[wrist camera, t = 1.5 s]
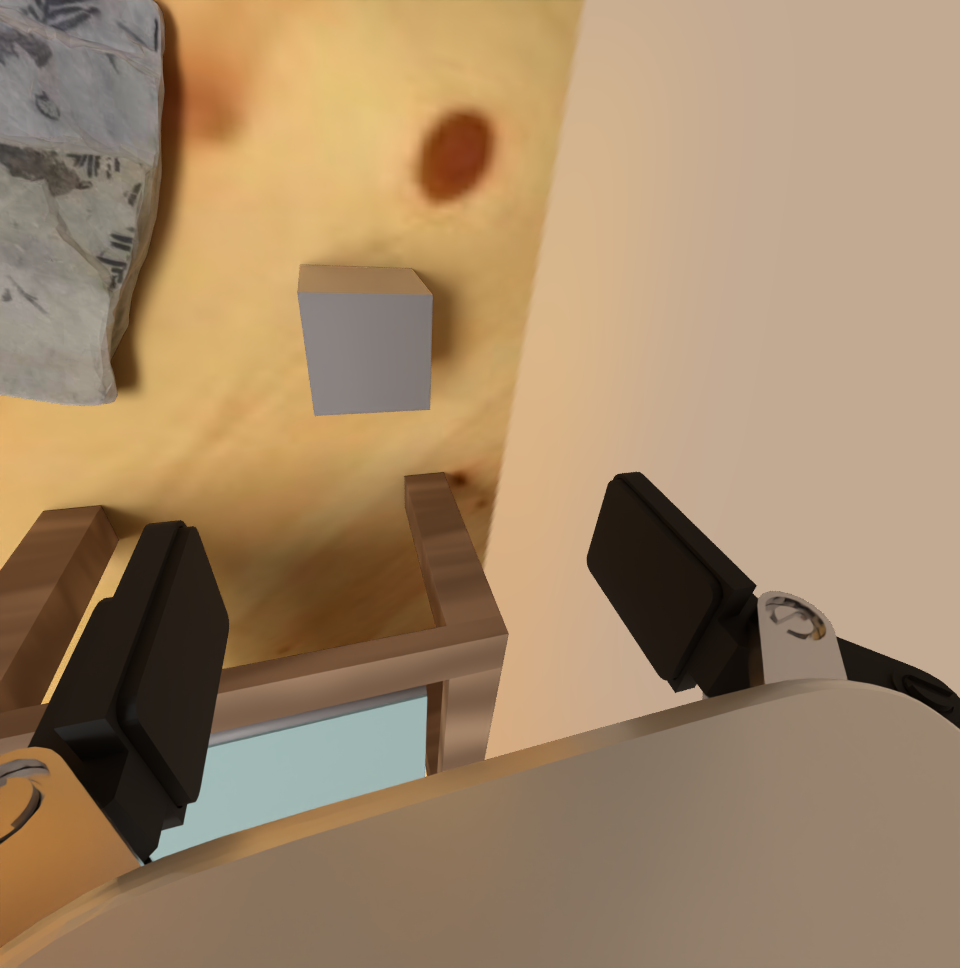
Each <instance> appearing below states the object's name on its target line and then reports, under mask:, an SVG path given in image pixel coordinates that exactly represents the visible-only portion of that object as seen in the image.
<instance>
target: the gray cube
mask: <svg viewBox="0 0 960 968" xmlns="http://www.w3.org/2000/svg"><path fill="white" fill-rule="evenodd" d="M298 300H299V307H300V314H301V321H302V328H303V336H304V343H305V350H306V357H307V365H308V372H309V379H310V386H311V393H312V401H313V408H314V415H315V416H321V415H340V414H358V413H377V412H396V411H414V410H430V389H431V347H432V305H433V294H432V293H431V292H430V291H429V289H428V288H427V287H426V286H425V284H424V283H423V282H422V281H421V279H420V278H419V277H418V276H417V274H416V273H415V272H414V271H413V269H412V268H386V267H356V266H326V265H300V271H299V282H298Z"/></svg>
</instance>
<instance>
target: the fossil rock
mask: <svg viewBox="0 0 960 968" xmlns="http://www.w3.org/2000/svg"><path fill="white" fill-rule="evenodd" d="M165 33H166V32H165V23H164V16H163V12H162V11H161V9H160V7H159V6H158V5H157V3H155V2H154V1H153V0H0V395H4V396H11V397H17V398H23V399H30V400H36V401H43V402H50V403H56V404H64V405H79V406H95V405H101V404H107V403H111V402H114V401H115V399H116V397H117V387H116V381H115V375H114V371H113V368H112V366H111V363H110V361H111V359H112V357H113V355H114V353H115V351H116V349H117V347H118V344H119V342H120V340H121V338H122V336H123V334H124V332H125V331H126V329H127V327H128V326H129V312H130V308H131V298H132V294H133V291H134V288H135V285H136V282H137V278H138V274H139V271H140V269H141V267H142V264H143V262H144V260H145V258H146V256H147V253H148V249H149V245H150V241H151V237H152V231H153V227H154V224H155V221H156V218H157V210H158V202H159V190H160V184H161V178H162V157H161V117H162V110H163V102H164V92H165V90H164V80H163V54H164V51H165V48H166V46H165Z"/></svg>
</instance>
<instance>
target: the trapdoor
mask: <svg viewBox="0 0 960 968" xmlns="http://www.w3.org/2000/svg"><path fill="white" fill-rule="evenodd" d="M426 721H427V690H426V685H422V686H418V687H413V688H409V689H405V690H400V691H396V692H391V693H387V694H383V695H378V696H374V697H370V698H365V699H361V700H356V701H352V702H348V703H343V704H339V705H334V706H330V707H326V708H321V709H317V710H312V711H308V712H304V713H299V714H295V715H291V716H286V717H282V718H277V719H273V720H269V721H264V722H260V723H255V724H251V725H247V726H242V727H238V728H234V729H229V730H225V731H220V732H216V733H212V734H210V739H209V744H208V750H207V756H206V761H205V767H204V772H203V778H202V784H201V789H200V793H199V797H198V799H197V801H196V802H194V803H190V804H187V809H186V814H185V819H184V824H183V825H181V826H178V827H174V828H170V829H166V830H163V831H161V835H160V840H159V844H158V848H157V849H156V850H155V851H154V852H153V853H152V854H151V855H150V856H151V857H152V858H153V860H154V861H155V860H158V859H160V858H162V857H165V856H168V855H171V854H173V853H176V852H179V851H182V850H185V849H188V848H191V847H193V846H196V845H199V844H202V843H205V842H208V841H211V840H214V839H216V838H219V837H222V836H225V835H229V834H232V833H235V832H239V831H242V830H245V829H249V828H252V827H255V826H258V825H262V824H265V823H268V822H272V821H275V820H278V819H282V818H285V817H288V816H292V815H295V814H298V813H302V812H305V811H308V810H311V809H315V808H318V807H321V806H325V805H328V804H332V803H335V802H339V801H342V800H346V799H349V798H353V797H356V796H360V795H363V794H367V793H370V792H374V791H377V790H381V789H385V788H388V787H392V786H395V785H399V784H402V783H406V782H409V781H413V780H416V779H420V778H423V777H425V754H426Z"/></svg>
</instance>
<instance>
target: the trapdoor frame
mask: <svg viewBox="0 0 960 968" xmlns="http://www.w3.org/2000/svg"><path fill="white" fill-rule="evenodd" d="M404 477H405V509H406V513H407V517H408V521H409V525H410V529H411V532H412V536H413V540H414V544H415V548H416V552H417V556H418V559H419V563H420V567H421V571H422V575H423V579H424V583H425V586H426V590H427V594H428V598H429V602H430V606H431V609H432V613H433V617H434V621H435V625H436V628H433V629H428V630H423V631H418V632H412V633H407V634H402V635H397V636H392V637H387V638H382V639H376V640H371V641H366V642H361V643H356V644H351V645H345V646H340V647H335V648H330V649H325V650H320V651H315V652H309V653H304V654H299V655H294V656H289V657H284V658H278V659H273V660H268V661H263V662H258V663H253V664H247V665H242V666H237V667H232V668H227V669H222V672H221V677H220V683H219V688H218V694H217V700H216V705H215V711H214V716H213V722H212V728H211V733H210V734H212V733H216V732H220V731H225V730H229V729H234V728H238V727H242V726H247V725H251V724H255V723H260V722H264V721H269V720H273V719H277V718H282V717H286V716H291V715H295V714H299V713H304V712H308V711H312V710H317V709H321V708H326V707H330V706H334V705H339V704H343V703H348V702H352V701H356V700H361V699H365V698H370V697H374V696H378V695H383V694H387V693H391V692H396V691H400V690H405V689H409V688H413V687H418V686H422V685H426V690H427V721H426V754H425V766H426V772H427V776H430V775H434V774H437V773H441V772H444V771H448V770H451V769H455V768H458V767H462V766H465V765H469V764H473V763H476V762H480V761H483V760H484V758H485V753H486V748H487V743H488V738H489V733H490V727H491V723H492V717H493V712H494V707H495V702H496V697H497V691H498V686H499V681H500V676H501V671H502V666H503V660H504V655H505V650H506V645H507V640H508V631H507V629H506V626H505V624H504V621H503V619H502V616H501V614H500V611H499V609H498V607H497V604H496V601H495V599H494V596H493V594H492V591H491V589H490V586H489V584H488V581H487V579H486V576H485V574H484V572H483V569H482V567H481V564H480V562H479V559H478V557H477V554H476V552H475V549H474V547H473V544H472V542H471V539H470V537H469V534H468V532H467V529H466V527H465V524H464V522H463V519H462V517H461V514H460V512H459V510H458V507H457V505H456V502H455V500H454V497H453V495H452V492H451V490H450V487H449V485H448V482H447V480H446V477H445V475H444V472H442V473H432V474H422V475H411V476H404ZM118 541H119V540H118V538H117V536H116V534H115V532H114V530H113V528H112V526H111V524H110V522H109V520H108V518H107V516H106V514H105V513H104V511H103V509H102V507H101V506H92V507H82V508H72V509H61V510H51V511H43V512H42V513H41V515H40V516H39V518H38V519H37V520H36V522H35V523H34V525H33V526H32V527H31V529H30V530H29V531H28V533H27V534H26V536H25V537H24V538H23V540H22V541H21V543H20V544H19V545H18V547H17V548H16V550H15V551H14V552H13V554H12V555H11V556H10V558H9V559H8V561H7V562H6V563H5V565H4V566H3V568H2V569H1V570H0V755H3V754H6V753H8V752H11V751H14V750H17V749H24V748H27V747H28V745H29V743H30V741H31V739H32V737H33V735H34V733H35V731H36V729H37V727H38V725H39V722H40V720H41V718H42V716H43V714H44V712H45V710H46V708H47V706H48V704H49V703H46V704H41V703H42V700H43V698H44V696H45V694H46V692H47V690H48V688H49V686H50V684H51V682H52V680H53V677H54V675H55V673H56V671H57V669H58V667H59V665H60V663H61V661H62V659H63V656H64V654H65V652H66V650H67V648H68V646H69V644H70V642H71V640H72V638H73V636H74V633H75V631H76V629H77V627H78V625H79V623H80V621H81V619H82V617H83V615H84V612H85V610H86V608H87V606H88V604H89V602H90V600H91V598H92V596H93V594H94V592H95V589H96V587H97V585H98V583H99V581H100V579H101V577H102V575H103V573H104V571H105V569H106V566H107V564H108V562H109V560H110V558H111V556H112V554H113V552H114V550H115V548H116V545H117V543H118Z"/></svg>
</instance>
